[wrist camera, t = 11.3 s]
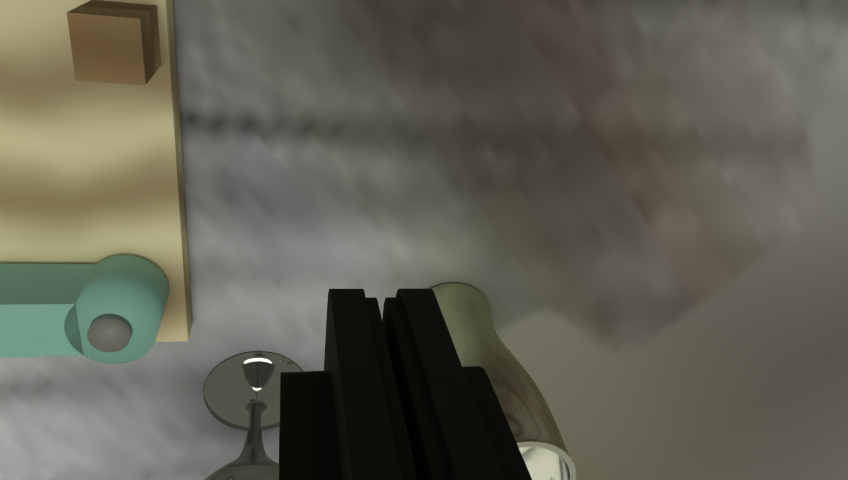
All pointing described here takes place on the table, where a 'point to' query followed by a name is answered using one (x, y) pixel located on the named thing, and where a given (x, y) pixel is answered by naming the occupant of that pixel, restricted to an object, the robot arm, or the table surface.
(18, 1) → the seat
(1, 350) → the leg
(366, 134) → the table surface
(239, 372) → the silver goblet
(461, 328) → the beer glass
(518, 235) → the table surface
